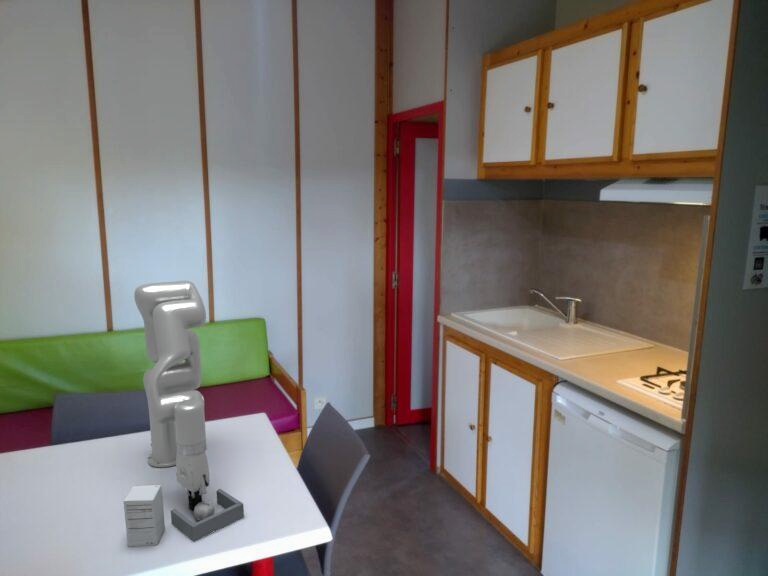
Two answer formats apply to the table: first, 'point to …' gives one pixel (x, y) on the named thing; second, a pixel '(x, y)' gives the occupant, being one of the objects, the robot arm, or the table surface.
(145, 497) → the supplement box
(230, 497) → the box
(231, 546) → the table surface
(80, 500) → the table surface
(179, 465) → the robot arm
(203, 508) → the garlic
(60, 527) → the table surface
